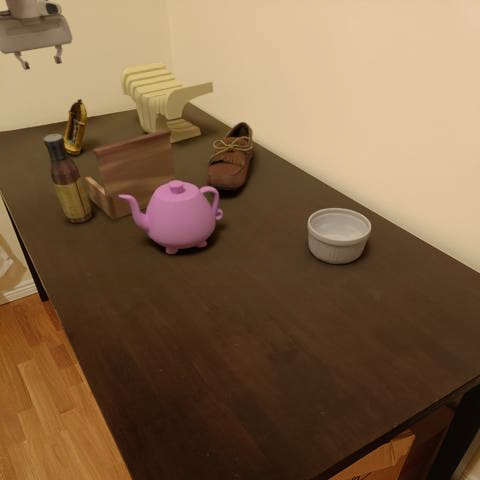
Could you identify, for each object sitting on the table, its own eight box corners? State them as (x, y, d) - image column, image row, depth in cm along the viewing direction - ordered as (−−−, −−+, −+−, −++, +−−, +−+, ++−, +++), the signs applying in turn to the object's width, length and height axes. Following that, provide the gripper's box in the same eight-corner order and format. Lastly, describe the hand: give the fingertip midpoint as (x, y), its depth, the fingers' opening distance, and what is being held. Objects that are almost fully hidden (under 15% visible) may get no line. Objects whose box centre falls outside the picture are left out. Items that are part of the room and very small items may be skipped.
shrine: (94, 144, 138) (82, 94, 128) (96, 154, 133) (84, 102, 122) (57, 149, 136) (41, 98, 125) (58, 159, 130) (42, 107, 120)
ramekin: (294, 240, 97) (297, 213, 93) (345, 229, 101) (350, 202, 96) (322, 274, 89) (327, 246, 84) (377, 260, 92) (384, 232, 87)
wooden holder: (90, 199, 112) (71, 133, 100) (153, 179, 120) (143, 115, 108) (112, 220, 104) (96, 151, 93) (178, 197, 113) (170, 131, 101)
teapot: (137, 270, 90) (125, 211, 80) (123, 232, 100) (111, 177, 91) (235, 247, 96) (234, 190, 86) (212, 214, 106) (209, 160, 97)
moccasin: (231, 204, 109) (230, 158, 101) (188, 196, 113) (183, 150, 104) (271, 157, 130) (272, 115, 122) (233, 151, 134) (232, 110, 125)
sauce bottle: (82, 209, 108) (59, 128, 95) (98, 217, 106) (76, 135, 92) (60, 219, 105) (32, 137, 91) (75, 228, 102) (49, 144, 88)
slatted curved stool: (129, 126, 150) (119, 69, 137) (169, 116, 156) (162, 61, 144) (172, 154, 132) (165, 92, 120) (215, 142, 139) (212, 81, 126)
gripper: (-12, 14, 108) (9, 75, 118) (66, 4, 117) (80, 62, 127) (-19, 11, 112) (3, 70, 122) (58, 2, 121) (72, 58, 130)
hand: (43, 66), depth 124 cm, fingers open, 8 cm apart
